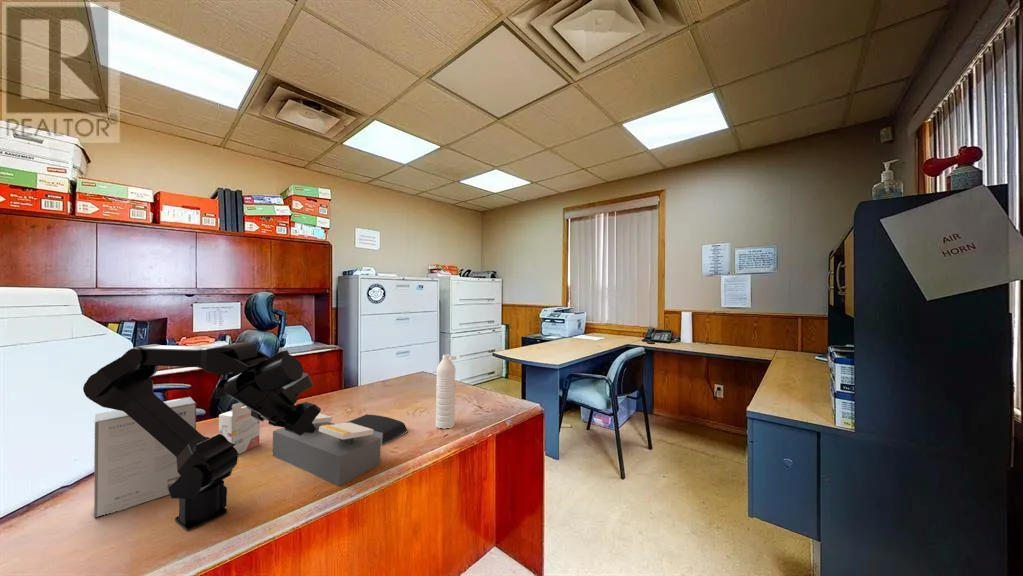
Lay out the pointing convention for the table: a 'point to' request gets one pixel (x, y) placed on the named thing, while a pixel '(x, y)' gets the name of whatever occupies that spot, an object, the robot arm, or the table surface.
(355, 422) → the external hard drive
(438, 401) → the water bottle
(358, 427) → the rocker amber
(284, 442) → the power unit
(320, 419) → the rocker grey
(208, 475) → the robot arm
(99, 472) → the hard drive box
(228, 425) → the ink cartridge box
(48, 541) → the table surface
